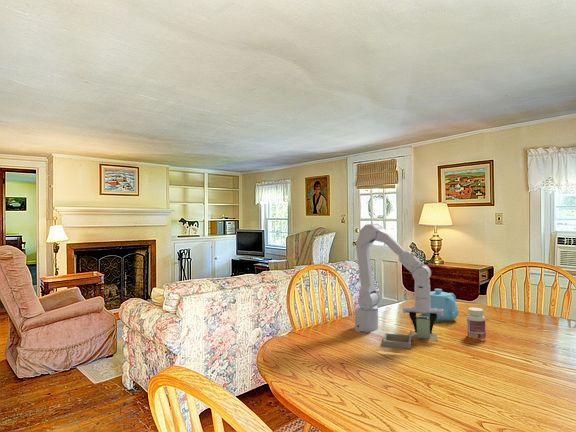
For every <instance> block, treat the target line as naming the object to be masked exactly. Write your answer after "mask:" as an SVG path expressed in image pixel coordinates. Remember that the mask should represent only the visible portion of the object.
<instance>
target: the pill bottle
mask: <svg viewBox="0 0 576 432" xmlns="http://www.w3.org/2000/svg"><path fill="white" fill-rule="evenodd" d="M467 311H468V312H467V313H468V315H467V316H466V326H467V327H466V328H467V330H466V331H467V337H468V338H470V339H474V340H480V341H481V342H484V341H486V338H487V337H486V336H487V335H486V334H487V333H486V330H487V327H486V317H485V316H484V309H483V308H480V307H468V309H467Z"/></svg>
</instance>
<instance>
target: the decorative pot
mask: <svg viewBox="0 0 576 432" xmlns="http://www.w3.org/2000/svg"><path fill="white" fill-rule="evenodd" d="M430 299H431V308H436V309H443V315H437V318H436V320H435V321H436V322H435V323H441V322H442V321H451V322H453V320H455V319H457V318H458V315H459V307H458V304H457V302H456V301H457V297H456V295H455V294H454V293H453V292H445V291H443V289H442V288H434V291H433V290H432V291H431V290H430ZM421 316H424V317H429V319H430V314H421Z"/></svg>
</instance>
